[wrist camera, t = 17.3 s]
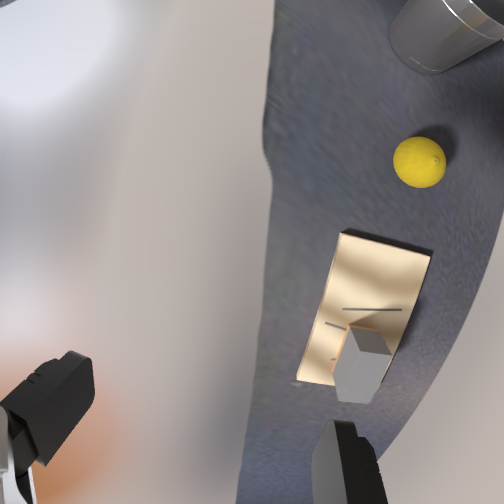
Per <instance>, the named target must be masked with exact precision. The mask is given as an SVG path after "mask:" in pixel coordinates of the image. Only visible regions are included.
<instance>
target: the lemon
mask: <svg viewBox="0 0 504 504" xmlns="http://www.w3.org/2000/svg"><path fill="white" fill-rule="evenodd" d="M393 161H394V168H395V170H396V173H397V174H398V176H399V177H400V178H401V179H402V181H403V182H405V183H407V184H408V185H410V186H413V187H417V188H426V187H429V186H432V185H434V184H436V183H437V182H438V181H439V180H440V179H441V178H442V177H443V175H444V173H445V170H446V158H445V155H444V152H443V150H442V149H441V147H440V146H439V145H438V144H437V143H436V142H434V141H432V140H430V139H428V138H425V137H411V138H408V139H406V140H404V141H403V142H402V143H401V144H399V146H398V147H397V149H396V151H395V154H394V160H393Z"/></svg>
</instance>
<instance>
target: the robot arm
mask: <svg viewBox="0 0 504 504" xmlns="http://www.w3.org/2000/svg"><path fill="white" fill-rule="evenodd" d="M502 38H504V0H408V2H407V3H406V4H405V6H404V7H403V8H402V9H401V11H400V12H399V13H398V15H397V16H396V17H395V19H394V20H393V21H392V23H391V25H390V27H389V40H390V43H391V45H392V47H393V49H394V51H395V53H396V54H397V55H398V57H399V58H400V59H401V60H402V61H403V62H404V63H405V64H406V65H408V66H409V67H411V68H412V69H414V70H416V71H418V72H420V73H423V74H427V75H437V74H440V73H442V72H444V71H446V70H447V69H449V68H451V67H452V66H454V65H456V64H458V63H460V62H461V61H463V60H465V59H466V58H468V57H470V56H472V55H473V54H475V53H477V52H479V51H480V50H482V49H484V48H486V47H488V46H489V45H491V44H493V43H495V42H497V41H499V40H500V39H502ZM94 396H95V388H94V378H93V369H92V361H91V359H90V358H88V357H86V356H83V355H81V354H79V353H76V352H74V351H69V352H67V353H66V354H65V355H64V356H63V357H62V358H61V359H60V360H58V359H53V360H50V361H48V362H45V363H43V364H42V365H40V366H39V367H38V368H37V369H36V370H35V371H34V373H31V374H30V375H29V376H28V377H27V379H26V380H24V381H23V382H21V383H20V384H19V385H18V386H17V387H16V388H15V389H14V390H13V391H12V392H11V393H9V394H8V395H7V396H6V397H5V398H4V399H3V400H2V401H1V402H0V504H37V501H36V496H35V490H34V483H33V476H32V469H31V464H32V463H33V462H34V461H37V462H38V463H40V464H42V465H43V466H45V467H46V465H47V464H48V463H49V461H50V460H51V459H52V457H53V456H54V454H55V453H56V452H57V450H58V449H59V448H60V446H61V445H62V444H63V442H64V441H65V440H66V438H67V437H68V436H69V434H70V433H71V431H72V430H73V429H74V428H75V426H76V425H77V424H78V422H79V421H80V420H81V418H82V417H83V416H84V414H85V413H86V412H87V411H88V409H89V408H90V406H91V405H92V403H93V400H94ZM311 470H312V486H313V504H388V501H387V497H386V493H385V489H384V486H383V482H382V477H381V474H380V473H379V471H380V470H379V466H378V463H377V459H376V455H375V452H374V448H373V447H372V446H371V444H370V443H369V442H368V441H367V439H366V438H365V437H358V435H357V431H356V427H355V424H354V422H351V421H340V420H330V421H329V422H328V424H327V425H326V427H325V429H324V431H323V433H322V435H321V437H320V439H319V441H318V442H317V444H316V446H315V448H314V451H313V454H312V459H311Z"/></svg>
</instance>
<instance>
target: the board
mask: <svg viewBox="0 0 504 504" xmlns="http://www.w3.org/2000/svg"><path fill="white" fill-rule="evenodd" d="M429 260H430V257H429V256H427V255H425V254H421V253H418V252H414V251H410V250H407V249H403V248H399V247H395V246H392V245H388V244H384V243H380V242H376V241H372V240H368V239H364V238H360V237H356V236H352V235H348V234H344V233H340V235H339V239H338V243H337V246H336V250H335V254H334V257H333V261H332V265H331V268H330V272H329V275H328V279H327V282H326V286H325V289H324V293H323V296H322V299H321V303H320V306H319V309H318V312H317V315H316V319H315V322H314V325H313V328H312V331H311V334H310V337H309V340H308V343H307V346H306V349H305V352H304V355H303V358H302V361H301V364H300V367H299V370H298V372H297V380H301V381H307V382H313V383H320V384H327V385H334V386H335V383H334V379H333V374H332V367H333V365H334V362H335V360H336V357H337V354H338V352H339V349H340V347H341V344H342V341H343V338H344V336H345V333H346V330H347V327H348V324H350V325H356V326H362V327H368V328H373V329H377V330H378V331H379V333H380V335H381V336H382V338H383V340H384V342H385V343H386V345H387V347H388V348H389V350H390V352H391V354H392V355H393V356H394V354H395V351H396V349H397V347H398V344H399V342H400V340H401V337H402V335H403V333H404V330H405V328H406V325H407V323H408V320H409V318H410V315H411V313H412V310H413V307H414V305H415V302H416V299H417V296H418V294H419V291H420V288H421V285H422V282H423V279H424V276H425V273H426V270H427V267H428V264H429ZM393 356H392V358H393ZM392 358H391V360H392ZM391 360H390V362H391ZM389 365H390V363H389ZM389 365H388V367H389ZM388 367H387V369H388ZM387 369H386V371H387ZM386 371H385V373H386ZM385 373H384V375H385ZM384 375H383V377H384ZM382 379H383V378H382ZM381 381H382V380H381ZM380 383H381V382H380ZM379 385H380V384H379ZM378 387H379V386H378ZM377 389H378V388H377Z"/></svg>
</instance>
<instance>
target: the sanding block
mask: <svg viewBox="0 0 504 504" xmlns="http://www.w3.org/2000/svg"><path fill="white" fill-rule="evenodd" d="M392 356H393V355H392V354H391V352H390V350H389V348H388V347H387V345H386V343H385V342H384V340H383V338H382V336H381V335H380V333H379V331H378V330H377V329H373V328H368V327H362V326H356V325H350V324H348V327H347V330H346V333H345V336H344V338H343V341H342V344H341V347H340V349H339V352H338V354H337V357H336V360H335V362H334V365H333V367H332V374H333V379H334V383H335V387H336V392H337V396H338V401H345V402H355V403H366V404H369V403H370V401H371V400H372V398H373V396H374V394H375V392H376V390H377V388H378V386H379V384H380V382H381V380H382V378H383V375H384V373H385V371H386V369H387V367H388V365H389V363H390V360H391V358H392Z"/></svg>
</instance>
